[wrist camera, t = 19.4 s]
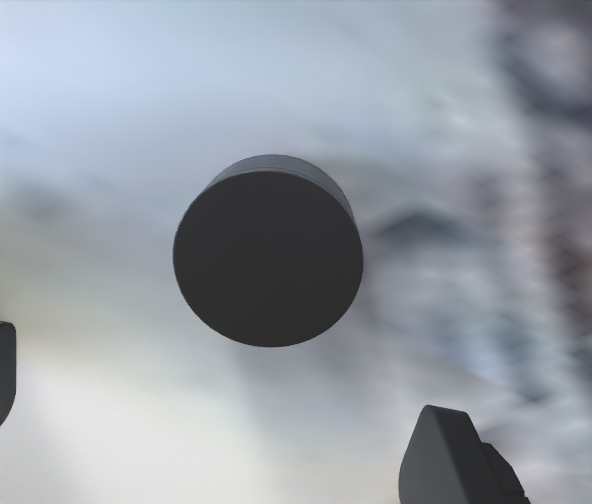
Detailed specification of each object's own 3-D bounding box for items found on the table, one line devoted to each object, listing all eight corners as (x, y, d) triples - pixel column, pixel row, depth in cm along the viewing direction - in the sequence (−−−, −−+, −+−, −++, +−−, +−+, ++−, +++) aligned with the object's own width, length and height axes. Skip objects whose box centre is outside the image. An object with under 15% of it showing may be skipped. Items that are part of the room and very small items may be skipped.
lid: (191, 150, 19) (167, 164, 16) (362, 158, 19) (372, 175, 16) (196, 303, 22) (176, 343, 19) (348, 311, 22) (354, 352, 18)
